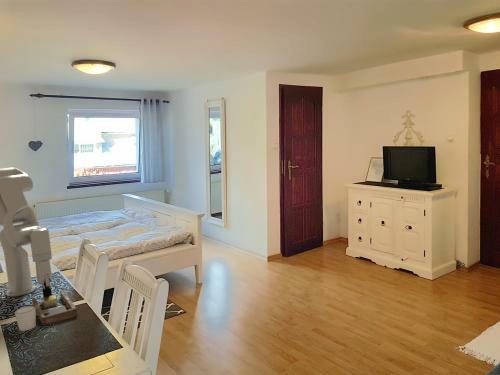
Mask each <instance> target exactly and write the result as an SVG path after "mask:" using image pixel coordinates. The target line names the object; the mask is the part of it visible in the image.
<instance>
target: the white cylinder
mask: <svg viewBox="0 0 500 375" xmlns="http://www.w3.org/2000/svg"><path fill="white" fill-rule="evenodd" d="M14 314H15V315H14V316H15V319H16V324H17V325H18V329H19V330H18V331H23V332H25V331H30V330H32V329H34V328H35V327H36V326H37V320H36V319H37V318H36V317H37V313H36V309H35V307H34V306H33V305H27V306H23V307H21V308H18V309H16V310H15V311H14Z"/></svg>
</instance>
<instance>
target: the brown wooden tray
mask: <svg viewBox="0 0 500 375" xmlns="http://www.w3.org/2000/svg"><path fill="white" fill-rule="evenodd" d="M59 293H60V294H59V295H60V299H61V300H62V302H63V303H64V304H65V306H66V307H67V308H68V309H66V310H65V311H62V312H58V313H55V314H51V315H48V314H47V315H45V314H44V312H43V311H42V308H41V306H40V304H39V302H38V300H37V298H36V297H35V296H34V297H31V303H32V306H34V307H35V309H36V316H38V318H39V320H40V323H41V325H42V326H43V325H44V326H46V325H50V324H53V323H56V322H60V321H64V320H68V319H71V318H74V317H77V316H78V310H77V309H78V308H77V307H76V306H75V305H74V303H73V302H72V300H71V299H70V298H69V296H68V295H67V294H66V293H65V292H64V290H63V289H62V290H59Z"/></svg>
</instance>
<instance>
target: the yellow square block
mask: <svg viewBox="0 0 500 375" xmlns="http://www.w3.org/2000/svg"><path fill="white" fill-rule="evenodd" d="M42 303H43V306H44V308H49V307H54V306H58V305H59V304H58V298H57V295H56V294H54V295H53V294H52V296H48V297H42Z"/></svg>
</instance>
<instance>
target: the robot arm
mask: <svg viewBox="0 0 500 375" xmlns="http://www.w3.org/2000/svg"><path fill="white" fill-rule="evenodd" d="M33 187H34V182H33V180H32V177H30V175H28V173H27V172H24V171H23V170H21V169H19V168H18V167H13V166H12V167H11V166H10V167H9V166H8V167H0V226H1V227H3V229H2V230H1V231H0V245H1V247H2V251H3V256H4V262H5V268H6V269H5V270H6V276H7V283H8V289H7V290H6V291H5V295H6V296H7V297H19V296H25V295H27V294H30V293H33V292H34V291H36V289H37V285H36V284H33V282H32V280H33V279H32V274H31V267H30V259H29V253H28V251H27V250H26V249H25V248H24V246H28V245H30V249H31V256H32V262H33V263H34V264H35V273H36V280H37V282H38V284H40V285H41V287H42V289H41V290H42V298H44V297H48V296H52V295H53V294H52V287H51V283H52V282H53V276H52V274H53V273H52V268H51V267H52V266H51V260H52V259H53V255H52V248H51V240H50V239H51V238H50V233H49V230H48V228H46V227H41V226H40V224H39V222H38V219H37V217H36V215H35V213H34V211H33V209H32V207H31V205H29V202H28V201H27V199H26V196H25V195H24V194H25V192H30V191H32V190H33Z"/></svg>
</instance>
